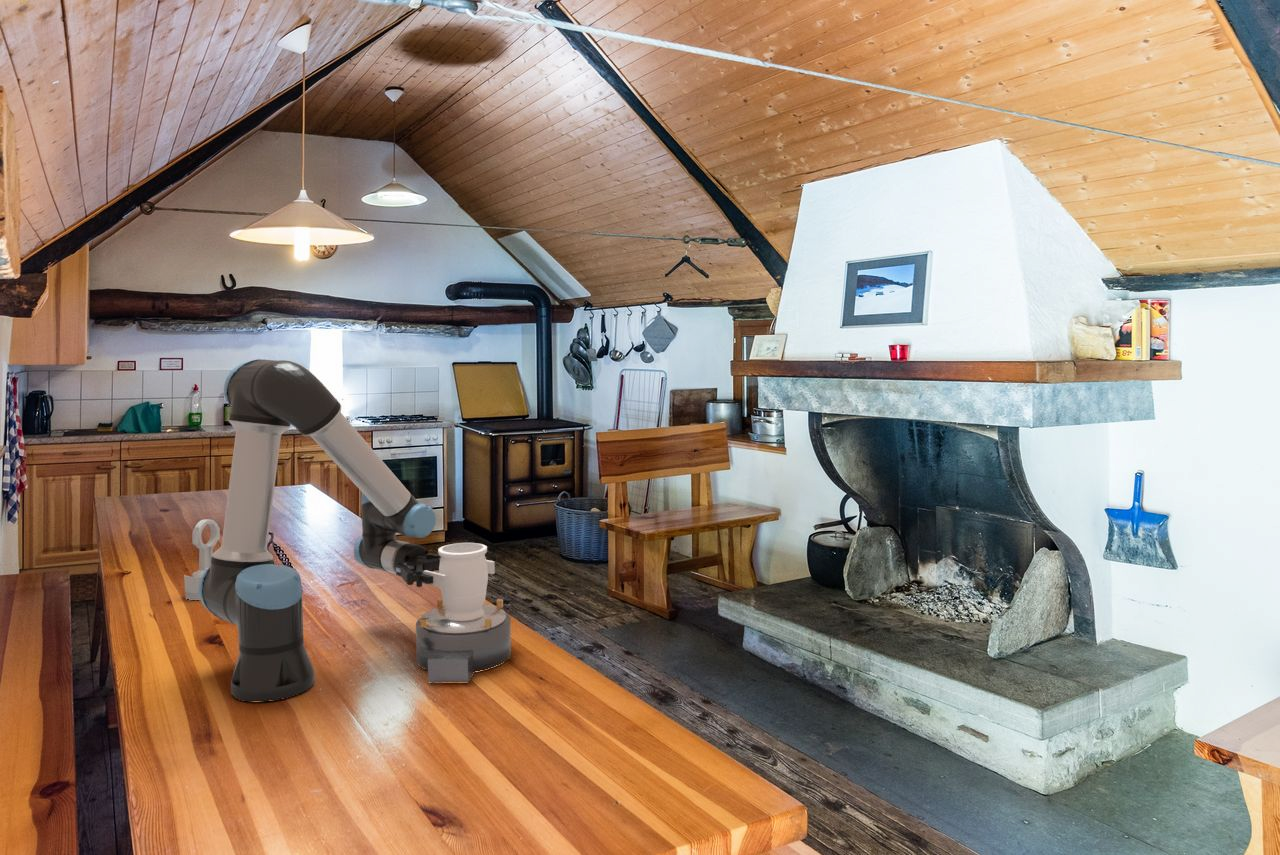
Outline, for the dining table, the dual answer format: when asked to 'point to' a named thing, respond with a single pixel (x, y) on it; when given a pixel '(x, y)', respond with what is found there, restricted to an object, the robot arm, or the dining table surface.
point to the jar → (464, 580)
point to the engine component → (201, 556)
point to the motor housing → (462, 643)
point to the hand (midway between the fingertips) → (470, 574)
